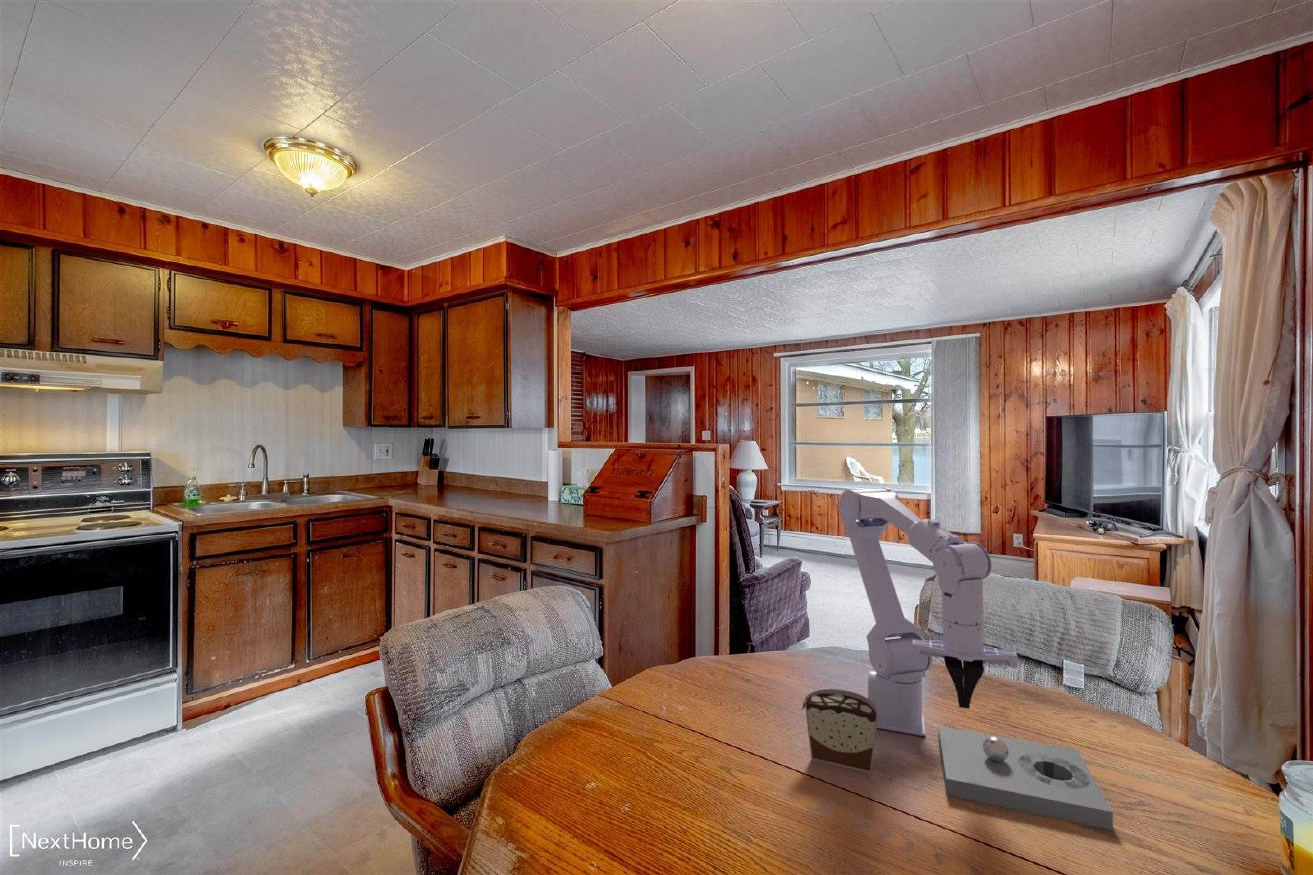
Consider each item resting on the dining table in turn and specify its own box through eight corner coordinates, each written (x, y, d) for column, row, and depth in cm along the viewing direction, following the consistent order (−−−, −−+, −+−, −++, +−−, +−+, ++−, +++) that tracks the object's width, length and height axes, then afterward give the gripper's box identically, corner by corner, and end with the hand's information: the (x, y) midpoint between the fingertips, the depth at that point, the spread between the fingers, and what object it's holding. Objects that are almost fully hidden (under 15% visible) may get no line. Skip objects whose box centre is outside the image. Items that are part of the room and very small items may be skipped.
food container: (883, 754, 94) (883, 695, 94) (881, 775, 89) (881, 712, 89) (808, 738, 99) (808, 682, 99) (802, 757, 94) (801, 697, 94)
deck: (946, 795, 84) (946, 778, 84) (938, 740, 98) (938, 726, 98) (1112, 830, 76) (1112, 812, 76) (1077, 765, 91) (1076, 749, 91)
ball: (984, 763, 87) (984, 741, 87) (981, 751, 90) (981, 730, 90) (1010, 768, 86) (1010, 745, 86) (1006, 756, 89) (1006, 734, 89)
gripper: (913, 622, 89) (914, 708, 89) (1021, 633, 83) (1022, 725, 83) (911, 609, 95) (912, 689, 95) (1011, 619, 89) (1013, 704, 90)
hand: (963, 705), depth 90 cm, fingers closed
